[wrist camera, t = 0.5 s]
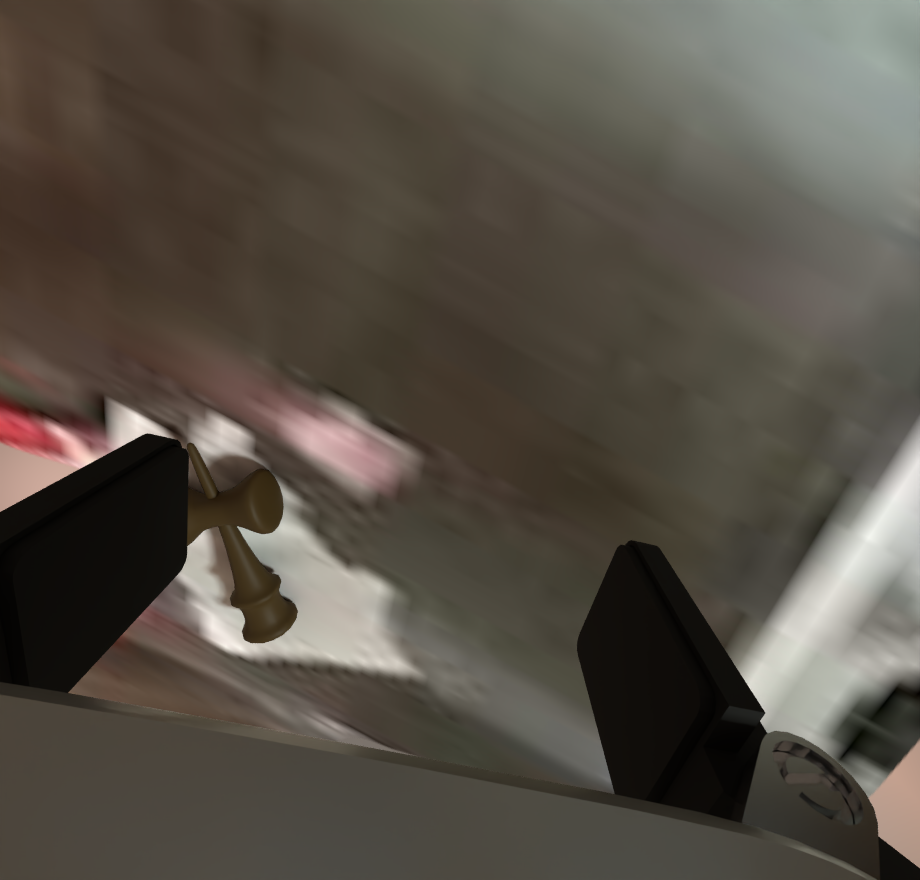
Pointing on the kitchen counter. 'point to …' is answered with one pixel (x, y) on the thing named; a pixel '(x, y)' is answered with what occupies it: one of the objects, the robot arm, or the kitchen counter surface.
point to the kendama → (244, 545)
